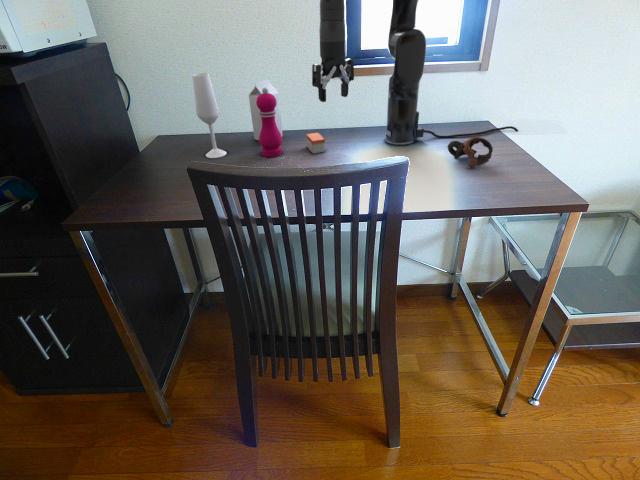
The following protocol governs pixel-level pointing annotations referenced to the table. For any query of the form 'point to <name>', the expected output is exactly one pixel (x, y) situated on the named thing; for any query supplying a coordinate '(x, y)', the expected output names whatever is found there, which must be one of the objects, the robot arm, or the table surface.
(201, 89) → the champagne flute
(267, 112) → the pepper mill
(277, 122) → the milk carton
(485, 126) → the table surface
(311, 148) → the sushi
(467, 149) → the brown looped ring
